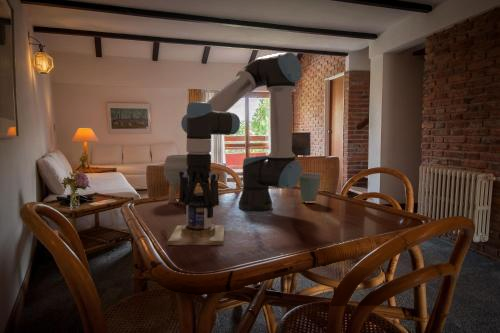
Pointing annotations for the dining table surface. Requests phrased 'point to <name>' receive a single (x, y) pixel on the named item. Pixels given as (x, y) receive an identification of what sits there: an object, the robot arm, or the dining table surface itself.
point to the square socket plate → (197, 236)
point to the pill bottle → (196, 212)
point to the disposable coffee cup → (309, 186)
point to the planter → (174, 171)
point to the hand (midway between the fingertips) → (198, 226)
